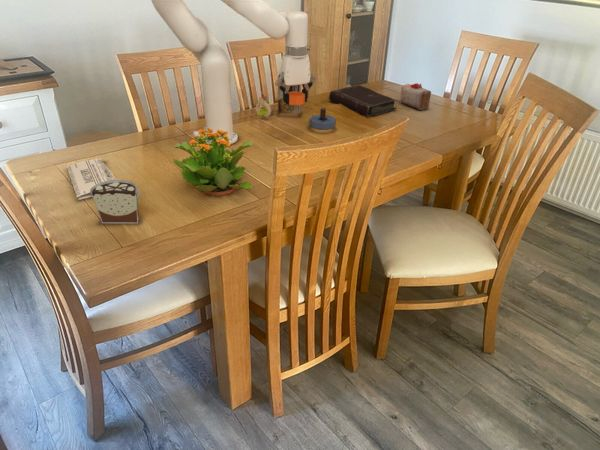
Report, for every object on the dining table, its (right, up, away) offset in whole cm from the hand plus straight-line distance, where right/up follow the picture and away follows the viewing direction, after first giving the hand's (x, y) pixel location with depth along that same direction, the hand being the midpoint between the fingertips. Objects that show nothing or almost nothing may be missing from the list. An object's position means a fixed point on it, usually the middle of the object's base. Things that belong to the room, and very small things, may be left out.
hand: (295, 101), depth 171 cm
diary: (+30, +8, +38) cm, 49 cm away
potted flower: (-22, -35, -31) cm, 52 cm away
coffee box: (-3, +2, +27) cm, 27 cm away
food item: (+53, +9, +41) cm, 67 cm away
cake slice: (-45, -43, -46) cm, 77 cm away
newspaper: (-61, -31, -28) cm, 74 cm away
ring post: (+10, -7, +13) cm, 18 cm away
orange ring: (0, 0, 0) cm, 0 cm away
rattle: (-12, -1, +23) cm, 26 cm away
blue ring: (+10, -6, +12) cm, 17 cm away
